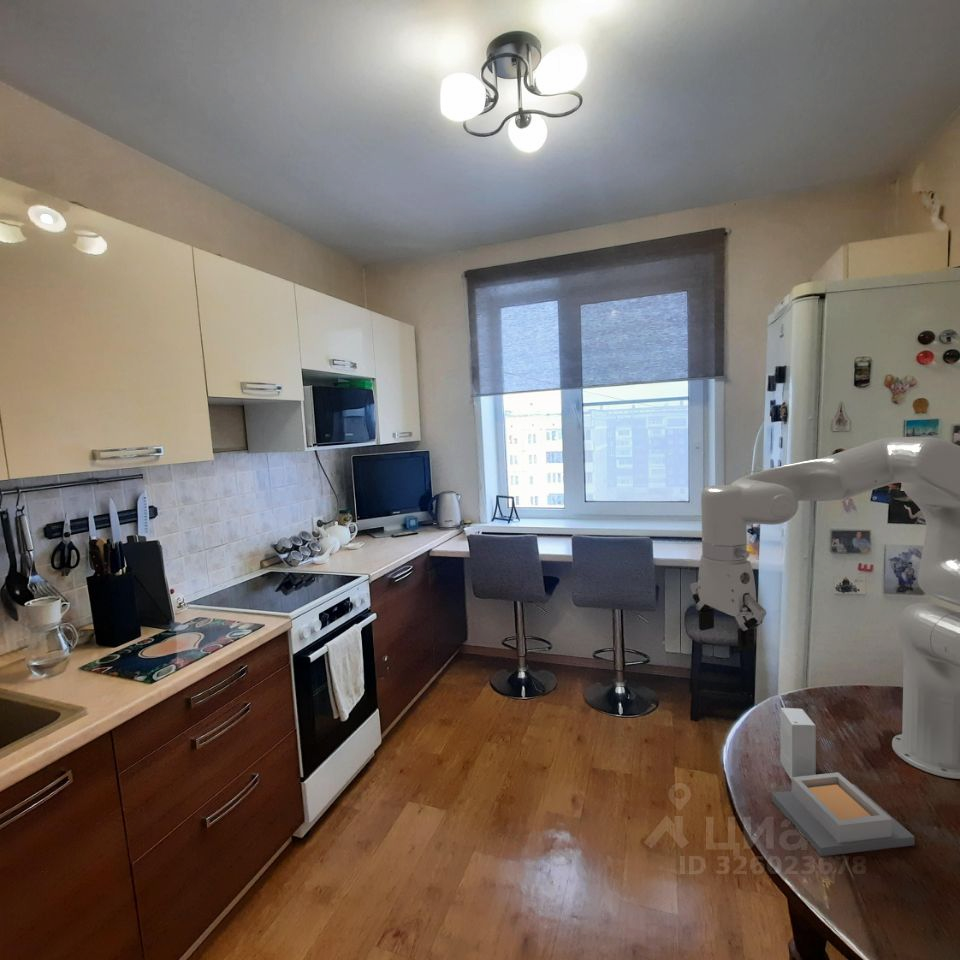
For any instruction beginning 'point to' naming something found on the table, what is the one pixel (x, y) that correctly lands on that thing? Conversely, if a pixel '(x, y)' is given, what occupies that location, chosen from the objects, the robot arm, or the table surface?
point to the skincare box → (797, 743)
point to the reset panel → (829, 829)
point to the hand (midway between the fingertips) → (725, 638)
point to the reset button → (839, 802)
